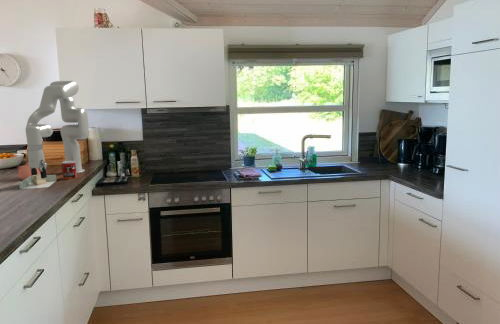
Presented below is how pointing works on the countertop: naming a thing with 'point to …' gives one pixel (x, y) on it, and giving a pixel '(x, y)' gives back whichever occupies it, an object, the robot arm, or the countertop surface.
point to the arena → (29, 184)
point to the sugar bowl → (25, 171)
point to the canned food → (69, 170)
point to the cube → (38, 179)
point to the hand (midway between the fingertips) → (39, 177)
